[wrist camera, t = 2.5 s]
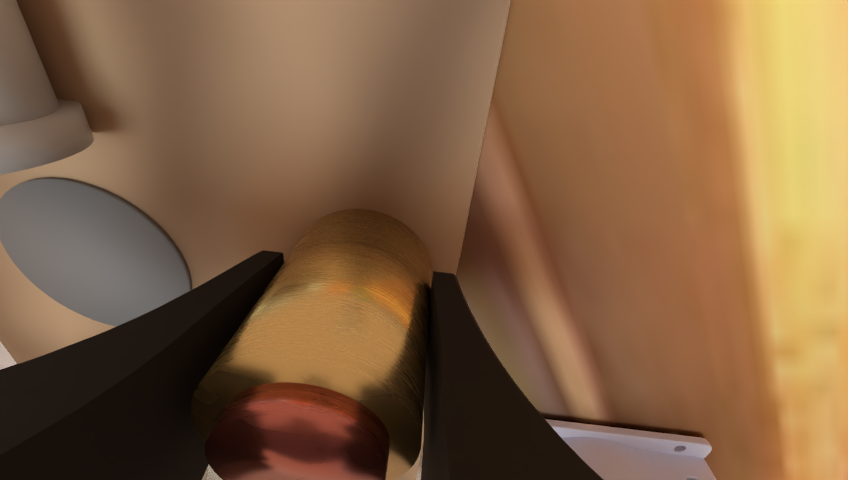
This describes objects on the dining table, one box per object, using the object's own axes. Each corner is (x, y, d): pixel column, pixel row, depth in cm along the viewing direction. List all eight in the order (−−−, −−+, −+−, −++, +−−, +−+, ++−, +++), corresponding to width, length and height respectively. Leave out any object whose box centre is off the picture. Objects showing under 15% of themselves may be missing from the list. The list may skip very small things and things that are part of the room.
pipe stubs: (18, -258, 6) (-798, -810, 2) (235, 442, 18) (173, 562, 14) (-252, -295, 6) (-1622, -938, 2) (143, 431, 18) (54, 548, 14)
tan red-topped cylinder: (440, 218, 10) (434, 410, 5) (424, 325, 13) (407, 534, 7) (292, 200, 10) (132, 374, 5) (302, 310, 13) (200, 510, 7)
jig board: (561, -294, 6) (579, -347, 5) (415, 465, 20) (414, 485, 19) (-484, -441, 6) (-641, -520, 5) (95, 428, 19) (79, 446, 18)
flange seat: (165, 190, 10) (160, 193, 10) (208, 333, 13) (205, 337, 13) (-38, 165, 10) (-46, 167, 10) (52, 315, 13) (47, 318, 13)
